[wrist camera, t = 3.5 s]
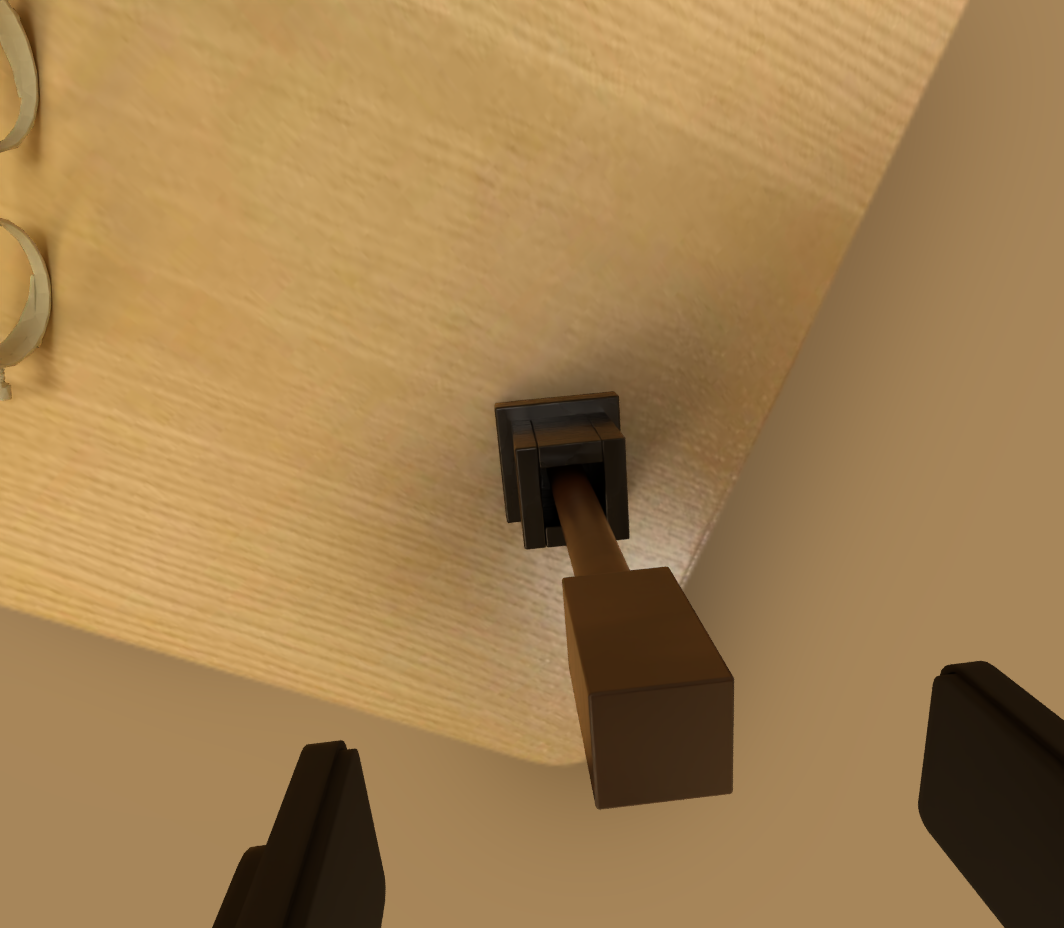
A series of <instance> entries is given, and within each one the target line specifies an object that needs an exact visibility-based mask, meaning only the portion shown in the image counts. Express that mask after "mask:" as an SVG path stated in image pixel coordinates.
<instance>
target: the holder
mask: <svg viewBox="0 0 1064 928" xmlns="http://www.w3.org/2000/svg"><path fill="white" fill-rule="evenodd" d="M495 418H496V427H497V436H498V445H499V454H500V464H501V473H502V482H503V491H504V501H505V510H506V519H507V522H508V523H513V522H521V523H522V532H523V541H524V548H525V549H536V548H544V547H546V545H547V547H557V546H566V542H565V538H564V534H563V531H562V527H561V523H560V520H559V516H558V512H557V508H556V505H555V501H554V497H553V493H552V490H551V486H550V482H549V478H548V475H547V471H546V468H548V467H558V466H568V465H577V464H582V466H583V468H584V470H585V473H586V475H587V477H588V479H589V481H590V484H591V486H592V488H593V490H594V492H595V495H596V497H597V499H598V501H599V503H600V506H601V508H602V510H603V512H604V514H605V517H606V519H607V521H608V523H609V525H610V528H611V530H612V532H613V534H614V536H615V539H616V540H624V539H629V538H630V536H629V513H628V490H627V467H626V444H625V437H624V436H623V435H622V434H621V429H620V408H619V396H618V395H617V394H616V393H615V392H613V391H612V392H602V393H592V394H582V395H572V396H561V397H551V398H541V399H531V400H521V401H511V402H501V403H495Z"/></svg>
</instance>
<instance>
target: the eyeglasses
mask: <svg viewBox="0 0 1064 928" xmlns="http://www.w3.org/2000/svg"><path fill="white" fill-rule="evenodd" d="M20 19H21V18H20V16H19V15H18V13H17V12H16V10H15V9H14V8H12V7H11V5H10V3H9V2H8V0H0V43H1V45H2V47H3V50H4V52H5V54H6V56H7V59H8V61H9V63H10V65H11V67H12V70H13V75H14V79H15V84H16V88H17V93H18V97H20V98H22V99H21V106H20V114H19V116H18V119H17V121H16V124H15V126H14V128H13V129H12V131H11V132H10V133H9V134H8V135H7V137H6V138H5V139H4V140H2V141H0V152H3V151H7V150H11V149H14V148H18V147H19V145H20V144H21V143H22V141H23V140H24V139H25V138H26V136H27V135H28V134H29V132H30V131H31V130H32V128H33V125H34V121H35V116H36V112H37V107H38V74H37V70H36V66H35V62H34V58H33V54H32V50H31V47H30V43H29V40H28V38H27V36H26V33H25V31H24V29H23V26H22V24H21V22H20ZM0 226H3V227H4V228H5V229H6V230H7V231H8V232H10V233H11V234H12V235H13V236H14V237H15V238H16V239H17V240H18V242H19V243H20V245H21V246H22V248H23V250H24V251H25V253H26V254H27V256H28V259H29V262H30V265H31V267H32V270H33V273H34V275H31V279H30V289H29V297H28V300H27V302H26V305H25V307H24V310H23V312H22V314H21V317H20V319H19V322H18V324H17V325H16V326H15V328H14V329H13V330H12V331H11V333H10V334H9V335H8V337H7V338H6V339H5V340H4V341H3V342H2V343H0V401H3V400H10V399H12V394H11V386H10V385H8V384H9V383H5V381H4V380H5V376H4V370H5V369H4V368H5V367H10V366H15V365H17V364H18V363H20V362H21V361H22V360H24V359H25V358H26V357H28V356H29V355H30V354H32V353H33V352H34V350H35V349H36V347H37V348H39V347H40V345H41V344H42V341H41V339H42V337H43V336H44V334H45V330H46V327H47V324H48V321H49V317H50V309H51V287H50V279H49V276H48V272H47V268H46V265H45V262H44V260H43V258H42V256H41V254H40V252H39V250H38V248H37V246H36V244H35V242H34V241H33V240H32V239H31V238H30V237H29V236H28V235H27V234H26V233H25V232H24V230H23V229H21V228H20V227H18V226H17V225H15V224H14V223H12V222H11V221H9V220H7V219H2V218H0Z"/></svg>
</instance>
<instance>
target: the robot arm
mask: <svg viewBox="0 0 1064 928" xmlns="http://www.w3.org/2000/svg"><path fill="white" fill-rule="evenodd" d="M918 809H919V813H920V817H921V819H922V821H923V823H924V826H925V827H926V829H927V830H928V832H929V833H930V834H931V835H932V837H933V838H934V839H935V840H936V841H937V843H938V844H939V845H940V847H941V848H942V849H943V851H944V852H945V853H946V854H947V856H948V857H949V858H950V859H951V861H952V862H953V863H954V864H955V866H956V867H957V868H958V870H959V871H960V872H961V873H962V874H963V876H964V877H965V878H966V879H967V881H968V882H969V883H970V885H971V886H972V887H973V888H974V890H975V891H976V892H977V893H978V895H979V896H980V897H981V898H982V900H983V901H984V902H985V904H986V905H987V906H988V907H989V909H990V910H991V911H992V912H993V914H994V915H995V916H996V917H997V919H998V920H999V921H1000V922H1001V924H1002V925H1003V926H1004V928H1064V720H1063V719H1061V718H1060V717H1059V716H1057V715H1056V714H1055V713H1054V712H1052V711H1051V710H1050V709H1048V708H1047V707H1046V706H1045V705H1043V704H1042V703H1041V702H1039V701H1038V700H1037V699H1035V698H1034V697H1033V696H1032V695H1030V694H1029V693H1028V692H1027V691H1025V690H1024V689H1023V688H1021V687H1020V686H1019V685H1018V684H1016V683H1015V682H1014V681H1012V680H1011V679H1010V678H1009V677H1007V676H1006V675H1005V674H1003V673H1002V672H1001V671H999V670H998V669H997V668H996V667H994V666H993V665H991V664H989V663H988V662H984V661H975V662H967V663H959V664H951V665H947V666H945V667H944V668H943V669H942V670H941V674H940V676H937V677H936V678H935V679H934V682H933V687H932V696H931V704H930V712H929V720H928V727H927V736H926V744H925V753H924V760H923V768H922V777H921V784H920V792H919V800H918ZM384 904H385V876H384V871H383V866H382V861H381V857H380V852H379V847H378V842H377V838H376V833H375V828H374V823H373V819H372V814H371V809H370V804H369V800H368V795H367V790H366V785H365V781H364V776H363V771H362V766H361V762H360V757H359V753H358V751H357V749H348V750H347V748H346V744H345V743H344V741H341V740H340V741H332V742H324V743H316V744H308V745H306V746H305V747H304V748H303V750H302V752H301V754H300V757H299V760H298V762H297V765H296V768H295V770H294V773H293V775H292V778H291V781H290V784H289V786H288V789H287V791H286V794H285V797H284V799H283V802H282V804H281V807H280V810H279V812H278V815H277V818H276V820H275V823H274V826H273V828H272V831H271V834H270V836H269V839H268V841H267V844H266V845H262V846H255V847H250V848H249V849H248V850H247V851H246V852H245V853H244V855H243V856H242V858H241V860H240V862H239V864H238V866H237V869H236V871H235V874H234V876H233V878H232V881H231V883H230V886H229V888H228V891H227V893H226V896H225V898H224V900H223V903H222V905H221V908H220V910H219V912H218V915H217V917H216V920H215V922H214V925H213V927H212V928H381V923H382V918H383V910H384Z"/></svg>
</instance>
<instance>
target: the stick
mask: <svg viewBox="0 0 1064 928" xmlns="http://www.w3.org/2000/svg"><path fill="white" fill-rule="evenodd" d="M546 471H547V475H548V478H549V482H550V486H551V490H552V493H553V497H554V501H555V505H556V508H557V512H558V516H559V520H560V523H561V527H562V531H563V534H564V538H565V542H566V546H567V549H568V553H569V557H570V561H571V564H572V568H573V572H574V576H575V577H566V578H563V579H562V587H563V599H564V612H565V624H566V636H567V648H568V661H569V670H570V675H571V681H572V686H573V691H574V696H575V701H576V707H577V712H578V717H579V722H580V727H581V733H582V738H583V743H584V748H585V754H586V759H587V763H588V769H589V774H590V779H591V784H592V790H593V795H594V800H595V805H596V807H597V809H609V808H617V807H625V806H634V805H642V804H650V803H658V802H667V801H675V800H684V799H691V798H700V797H708V796H717V795H725V794H731V793H732V791H733V727H734V722H733V721H734V678H733V676H732V674H731V672H730V671H729V669H728V667H727V666H726V664H725V662H724V661H723V659H722V657H721V655H720V654H719V652H718V650H717V649H716V647H715V645H714V643H713V642H712V640H711V638H710V637H709V635H708V633H707V631H706V630H705V628H704V626H703V625H702V623H701V621H700V620H699V618H698V616H697V615H696V613H695V611H694V609H693V608H692V606H691V604H690V603H689V601H688V599H687V597H686V596H685V594H684V592H683V591H682V589H681V587H680V586H679V584H678V582H677V580H676V579H675V577H674V575H673V574H672V572H671V570H670V569H669V567H658V568H649V569H639V570H630V569H629V567H628V565H627V563H626V561H625V558H624V556H623V554H622V552H621V550H620V547H619V545H618V543H617V541H616V539H615V536H614V534H613V532H612V530H611V528H610V525H609V523H608V521H607V519H606V517H605V514H604V512H603V510H602V508H601V506H600V503H599V501H598V499H597V497H596V495H595V492H594V490H593V488H592V486H591V484H590V481H589V479H588V477H587V475H586V473H585V470H584V468H583V466H582V464H577V465H568V466H558V467H548V468H546Z"/></svg>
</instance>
